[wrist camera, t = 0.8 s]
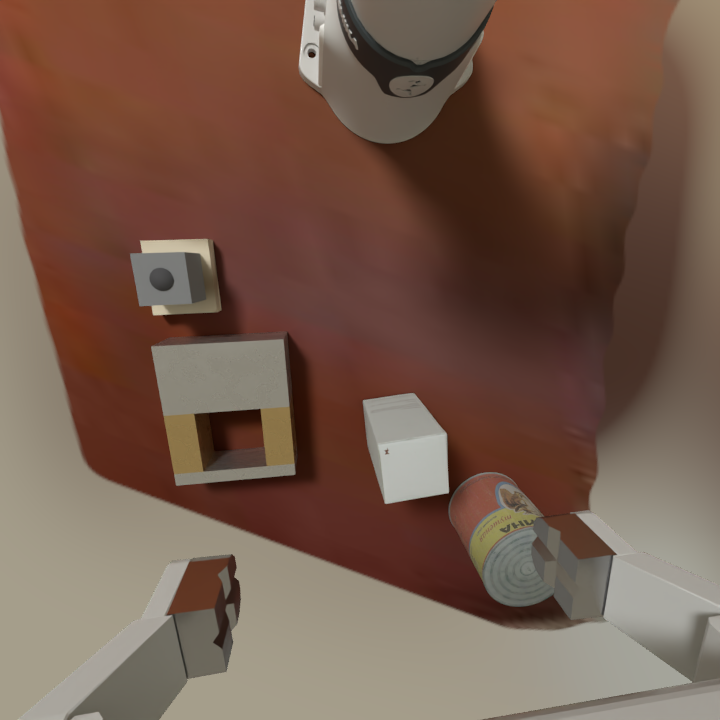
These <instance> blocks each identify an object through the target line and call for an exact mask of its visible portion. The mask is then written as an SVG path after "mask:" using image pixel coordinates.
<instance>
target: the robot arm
mask: <svg viewBox="0 0 720 720" xmlns="http://www.w3.org/2000/svg"><path fill="white" fill-rule="evenodd" d="M496 1H497V0H306V1H305V10H304V20H303V29H302V39H301V48H300V58H299V73H300V76H301V77H302V79H303V80H304V81H305V82H306V83H307V84H308V85H309V86H311V87H312V88H313V89H315V90H316V91H318V92H319V93H320V94H322V95H323V97H324V98H325V99H326V101H327V102H328V104H329V105H330V107H331V108H332V110H333V112H334V113H335V114H336V116H337V117H338V118H339V120H340V121H341V122H342V123H343V124H344V125H345V126H346V127H347V128H348V129H350V130H351V131H352V132H354V133H355V134H357V135H358V136H360V137H362V138H364V139H367V140H369V141H373V142H377V143H386V144H389V143H398V142H403V141H406V140H408V139H411V138H413V137H415V136H417V135H418V134H420V133H421V132H423V131H424V130H425V129H426V128H427V127H428V126H429V125H430V124H431V123H432V122H433V121H434V120H435V118H436V117H437V115H438V114H439V112H440V111H441V109H442V107H443V105H444V104H445V102H446V101H447V99H448V98H449V96H450V95H452V94H453V93H454V92H456V91H457V90H458V89H460V88H461V87H462V86H463V85H464V84H465V83H466V82H467V81H468V79H469V78H470V76H471V74H472V71H473V62H472V58H473V56H474V54H475V53H476V51H477V49H478V47H479V45H480V44H481V42H482V39H483V35H484V31H483V30H484V28H485V26H486V24H487V21H488V19H489V17H490V15H491V12H492V9H493V6H494V4H495V2H496ZM310 52H313V53H315V55H316V56H315V57H314V58H310V57H309V56H308V54H309V53H310ZM533 531H534V532H535V533H536V535H537V537H536V539H535V540H534V541H533V543H532V548H531V555H532V560H533V564H534V567H535V569H536V571H537V573H538V575H539V576H540V577H541V579H542V580H543V582H545V583H546V584H548V585H550V586H551V587H553V588H554V597H555V599H556V600H557V602H558V603H559V604H560V606H561V607H562V609H563V610H564V611H565V613H566V614H567V616H568V617H569V618H570V620H575V619H584V618H592V617H601V616H604V619H605V620H607V621H608V622H610V623H611V624H612V625H614V626H615V627H617V628H618V629H619V630H621V631H622V632H624V633H625V634H626V635H628V636H629V637H631V638H632V639H634V640H635V641H636V642H638V643H639V644H640V645H642V646H643V647H645V648H646V649H648V650H649V651H650V652H652V653H653V654H654V655H656V656H657V657H659V658H660V659H661V660H663V661H664V662H666V663H667V664H668V665H670V666H671V667H673V668H674V669H676V670H677V671H678V672H680V673H681V674H683V675H684V676H685V677H687V678H688V679H690V680H691V681H692V683H689V684H684V685H678V686H672V687H666V688H661V689H655V690H649V691H643V692H637V693H631V694H626V695H620V696H614V697H609V698H603V699H598V700H591V701H586V702H580V703H574V704H569V705H563V706H558V707H552V708H546V709H540V710H535V711H529V712H523V713H517V714H512V715H506V716H501V717H494V718H489V719H483V720H720V585H718V584H716V583H713V582H711V581H709V580H706V579H704V578H702V577H700V576H697V575H695V574H693V573H691V572H688V571H686V570H684V569H682V568H679V567H677V566H674V565H672V564H670V563H668V562H665V561H663V560H661V559H659V558H656V557H654V556H652V555H650V554H647V553H645V552H637V551H636V550H635V549H634V548H632V547H631V546H630V545H629V544H628V543H627V542H626V541H625V540H623V539H622V538H621V537H620V536H619V535H618V534H617V533H616V532H614V531H613V530H612V529H611V528H610V527H609V526H608V525H607V524H606V523H604V521H602V520H601V519H600V518H599V517H598V516H597V515H596V514H595V513H593V512H591V511H589V510H586V511H579V512H572V513H567V514H560V515H552V516H544V517H536V519H535V521H534V524H533ZM235 571H236V562H235V557H234V556H233V555H232V554H231V555H221V556H210V557H200V558H193V559H184V560H174V561H171V562H170V563H169V564H168V566H167V567H166V569H165V571H164V573H163V575H162V577H161V579H160V581H159V583H158V585H157V587H156V589H155V591H154V593H153V595H152V597H151V599H150V601H149V603H148V605H147V607H146V609H145V611H144V613H143V615H142V617H141V619H140V620H134V621H132V622H131V623H130V624H129V625H128V626H127V627H125V628H124V629H123V630H122V631H121V632H120V633H118V634H117V635H116V636H115V637H114V638H113V639H111V640H110V641H109V642H108V643H107V644H106V645H104V646H103V647H102V648H101V649H100V650H99V651H97V652H96V653H95V654H94V655H93V656H91V657H90V658H89V659H88V660H87V661H86V662H84V663H83V664H82V665H81V666H80V667H79V668H77V669H76V670H75V671H74V672H73V673H72V674H70V675H69V676H68V677H67V678H66V679H65V680H63V681H62V682H61V683H60V684H59V685H58V686H56V687H55V688H54V689H53V690H52V691H51V692H49V693H48V694H47V695H46V696H45V697H44V698H42V699H41V700H40V701H39V702H38V703H37V704H35V705H34V706H33V707H32V708H31V709H30V710H28V711H27V712H26V713H25V714H24V715H22V716H21V717H20V718H19V719H18V720H159V719H160V718H161V716H162V715H163V714H164V712H165V711H166V710H167V708H168V707H169V706H170V704H171V703H172V701H173V700H174V699H175V697H176V696H177V695H178V694H179V692H180V691H181V690H182V688H183V687H184V685H185V684H186V683H187V679H189V678H195V677H200V676H206V675H211V674H217V673H222V672H226V671H227V667H228V662H229V657H230V654H231V649H232V645H233V639H232V634H231V631H232V629H233V628H234V627H235V626H236V625H237V622H238V617H239V612H240V600H241V599H240V585H239V581H238V580H237V579H236V578H234V575H235Z"/></svg>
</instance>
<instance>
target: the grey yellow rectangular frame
mask: <svg viewBox="0 0 720 720" xmlns="http://www.w3.org/2000/svg"><path fill="white" fill-rule="evenodd" d="M151 348H152V354H153V360H154V365H155V371H156V376H157V382H158V387H159V393H160V398H161V404H162V409H163V415H164V420H165V426H166V431H167V437H168V442H169V448H170V454H171V459H172V465H173V470H174V476H175V481H176V486H177V485H188V484H199V483H210V482H221V481H232V480H243V479H254V478H265V477H276V476H287V475H295V474H296V465H297V456H298V453H297V442H296V430H295V418H294V407H293V395H292V383H291V371H290V360H289V348H288V336H287V332H268V333H249V334H230V335H212V336H193V337H174V338H168V339H166V340H164V341H161V342H159V343H157V344H155V345H153V346H151ZM251 409H261V418H262V427H263V436H264V445H265V447H261V448H249V449H237V450H225V451H214V444H213V437H212V430H211V424H210V417H209V413H210V412H224V411H237V410H251Z"/></svg>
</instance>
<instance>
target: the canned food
mask: <svg viewBox="0 0 720 720" xmlns="http://www.w3.org/2000/svg"><path fill="white" fill-rule="evenodd" d="M536 517H544V515H543V514H542V513H541V512H540V511H539V510H538V509H537V508H536V507H535V505H534V504H533V503H532V502H531V501H530V500H529V499H528V498H527V497H526V496H525V494H524V493H523V492H522V491H521V490H520V489H519V488H518V486H517V485H516V484H515V482H514V481H513V480H512V479H510V478H509V477H507V476H505V475H503V474H500V473H495V472H487V473H481V474H477V475H475V476H472V477H470V478H469V479H467V480H466V481H464V482H463V483H462V484H461V485H460V486H459V487H458V488H457V489H456V490H455V492H454V493H453V495H452V497H451V500H450V503H449V518H450V521H451V523H452V525H453V526H454V528H455V529H456V531H457V533H458V535H459V537H460V539H461V541H462V543H463V545H464V546H465V548H466V550H467V552H468V554H469V556H470V558H471V560H472V562H473V564H474V566H475V568H476V569H477V571H478V573H479V575H480V577H481V579H482V581H483V583H484V586H485V588H486V590H487V592H488V593H489V595H490V596H491V597H492V598H493V599H495V600H496V601H498V602H499V603H502V604H504V605H508V606H514V607H523V606H530V605H533V604H537V603H539V602H541V601H544V600H545V599H547V598H549V597H550V596H552V595H553V594H554V588H553V587H551V586H550V585H548V584H546V583H545V582H543V580H542V579H541V577H540V576H539V575H538V573H537V571H536V569H535V567H534V564H533V560H532V555H531V548H532V543H533V541H534V540H535V539H536V537H537V535H536V533H535V532H534V531H533V524H534V521H535V519H536Z"/></svg>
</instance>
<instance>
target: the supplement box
mask: <svg viewBox="0 0 720 720" xmlns="http://www.w3.org/2000/svg"><path fill="white" fill-rule="evenodd" d="M363 408H364V417H365V427H366V435H367V444H368V449H369V452H370V455H371V459H372V462H373V465H374V469H375V472H376V475H377V479H378V482H379V485H380V489H381V492H382V495H383V498H384V502H385V504H389V503H394V502H400V501H405V500H411V499H417V498H423V497H429V496H435V495H441V494H447V493H449V482H448V453H447V433H446V432H445V431H444V430H443V429H442V428H441V426H440V425H439V424H438V423H437V421H436V420H435V419H434V417H433V416H432V415H431V414H430V412H429V411H428V410H427V409H426V407H425V406H424V405H423V403H422V402H421V401H420V400H419V399H418V397H417V396H416V395H415V394H414V393H409V394H402V395H395V396H388V397H382V398H375V399H368V400H363Z"/></svg>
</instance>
